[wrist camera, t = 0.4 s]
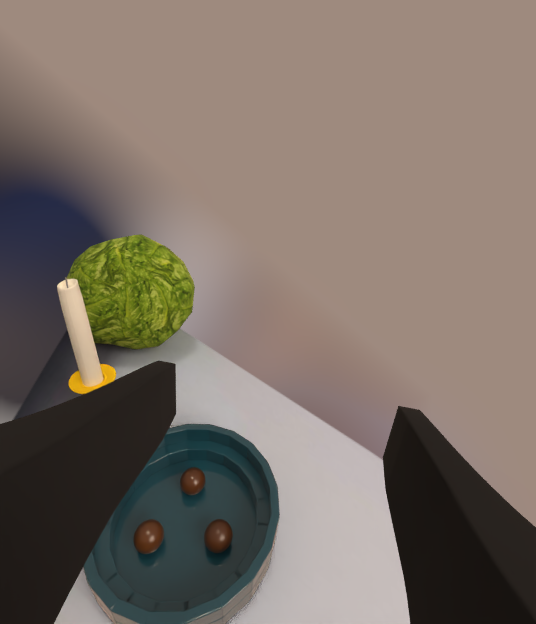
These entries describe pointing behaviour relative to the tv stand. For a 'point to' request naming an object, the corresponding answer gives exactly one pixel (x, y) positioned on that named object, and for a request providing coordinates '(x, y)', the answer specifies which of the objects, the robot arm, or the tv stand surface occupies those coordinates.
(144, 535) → the hazelnut
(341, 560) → the tv stand surface
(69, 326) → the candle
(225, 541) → the hazelnut
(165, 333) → the lettuce
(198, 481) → the hazelnut
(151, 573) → the bowl
